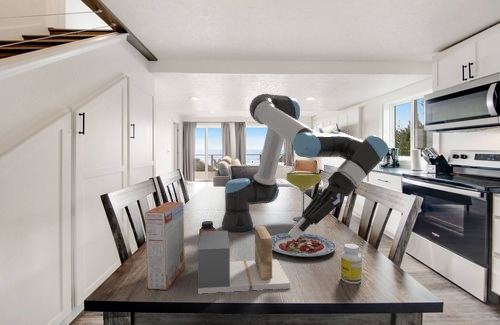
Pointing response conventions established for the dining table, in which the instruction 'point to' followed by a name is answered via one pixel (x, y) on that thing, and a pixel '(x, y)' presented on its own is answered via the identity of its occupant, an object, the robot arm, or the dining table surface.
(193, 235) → the dining table surface
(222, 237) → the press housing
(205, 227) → the supplement bottle
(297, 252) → the ceramic plate
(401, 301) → the dining table surface
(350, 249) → the supplement bottle
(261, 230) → the plate
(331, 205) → the robot arm
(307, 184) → the cocktail glass
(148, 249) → the cracker box
